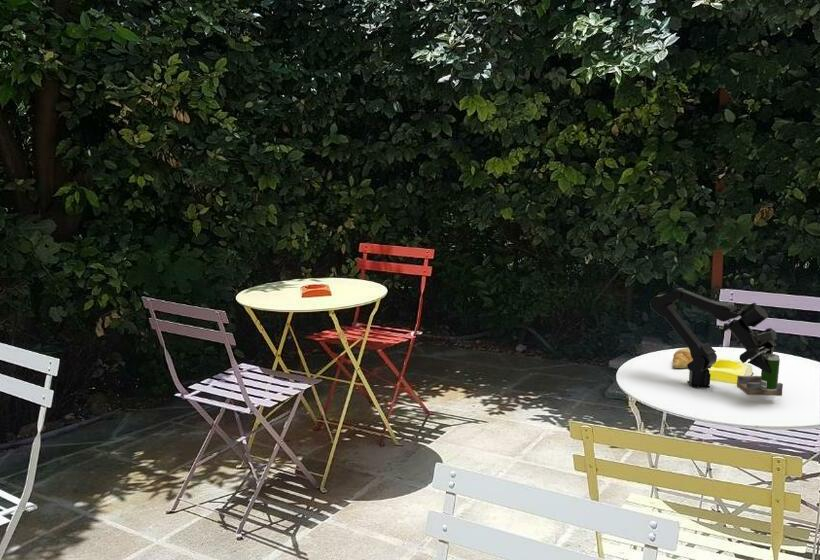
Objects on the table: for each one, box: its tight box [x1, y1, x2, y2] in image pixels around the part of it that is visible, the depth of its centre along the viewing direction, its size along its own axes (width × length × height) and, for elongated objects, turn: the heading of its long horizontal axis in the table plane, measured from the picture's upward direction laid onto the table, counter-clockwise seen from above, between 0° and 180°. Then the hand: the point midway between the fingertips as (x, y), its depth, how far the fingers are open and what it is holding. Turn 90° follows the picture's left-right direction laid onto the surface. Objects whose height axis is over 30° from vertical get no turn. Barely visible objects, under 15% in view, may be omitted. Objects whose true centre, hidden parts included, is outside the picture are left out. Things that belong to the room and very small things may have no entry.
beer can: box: [760, 353, 781, 391], centre depth 251 cm, size 5×5×12 cm
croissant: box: [672, 347, 693, 369], centre depth 298 cm, size 21×10×8 cm, turn 137°
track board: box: [736, 375, 784, 396], centre depth 264 cm, size 12×10×4 cm
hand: (774, 371), depth 250 cm, fingers closed on beer can, 5 cm apart
